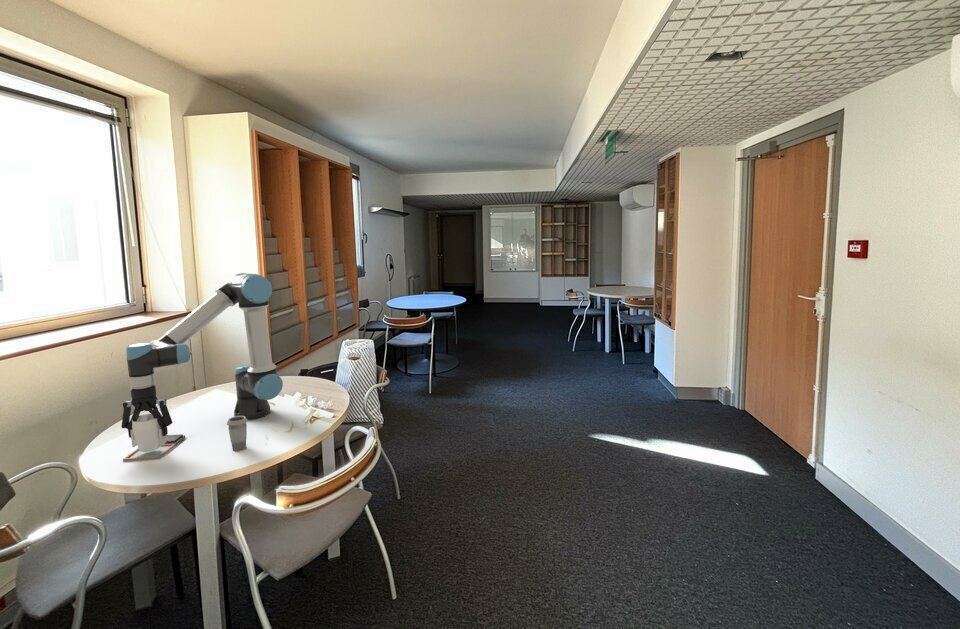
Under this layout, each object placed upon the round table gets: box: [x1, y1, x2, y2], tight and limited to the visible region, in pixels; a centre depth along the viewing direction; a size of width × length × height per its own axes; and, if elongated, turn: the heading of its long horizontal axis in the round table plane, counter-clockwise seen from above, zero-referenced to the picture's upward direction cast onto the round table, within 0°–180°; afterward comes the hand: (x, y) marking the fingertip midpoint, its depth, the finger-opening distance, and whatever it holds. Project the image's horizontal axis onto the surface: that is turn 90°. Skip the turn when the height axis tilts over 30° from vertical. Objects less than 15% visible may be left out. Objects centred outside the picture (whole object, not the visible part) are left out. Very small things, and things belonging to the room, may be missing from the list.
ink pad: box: [165, 433, 186, 446], centre depth 188 cm, size 12×8×2 cm, turn 97°
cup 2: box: [226, 416, 248, 452], centre depth 181 cm, size 7×7×12 cm
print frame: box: [122, 444, 177, 463], centre depth 178 cm, size 12×12×1 cm
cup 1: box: [132, 413, 160, 452], centre depth 177 cm, size 9×9×12 cm
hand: (149, 444), depth 178 cm, fingers closed on cup 1, 9 cm apart
